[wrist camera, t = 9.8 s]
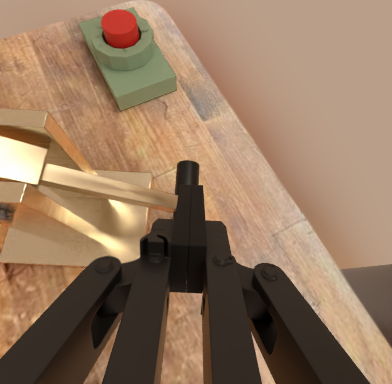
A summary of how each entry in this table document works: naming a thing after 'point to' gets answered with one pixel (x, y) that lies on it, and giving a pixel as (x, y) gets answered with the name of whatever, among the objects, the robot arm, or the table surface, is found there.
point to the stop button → (120, 29)
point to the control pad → (130, 64)
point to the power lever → (85, 177)
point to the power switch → (65, 205)
